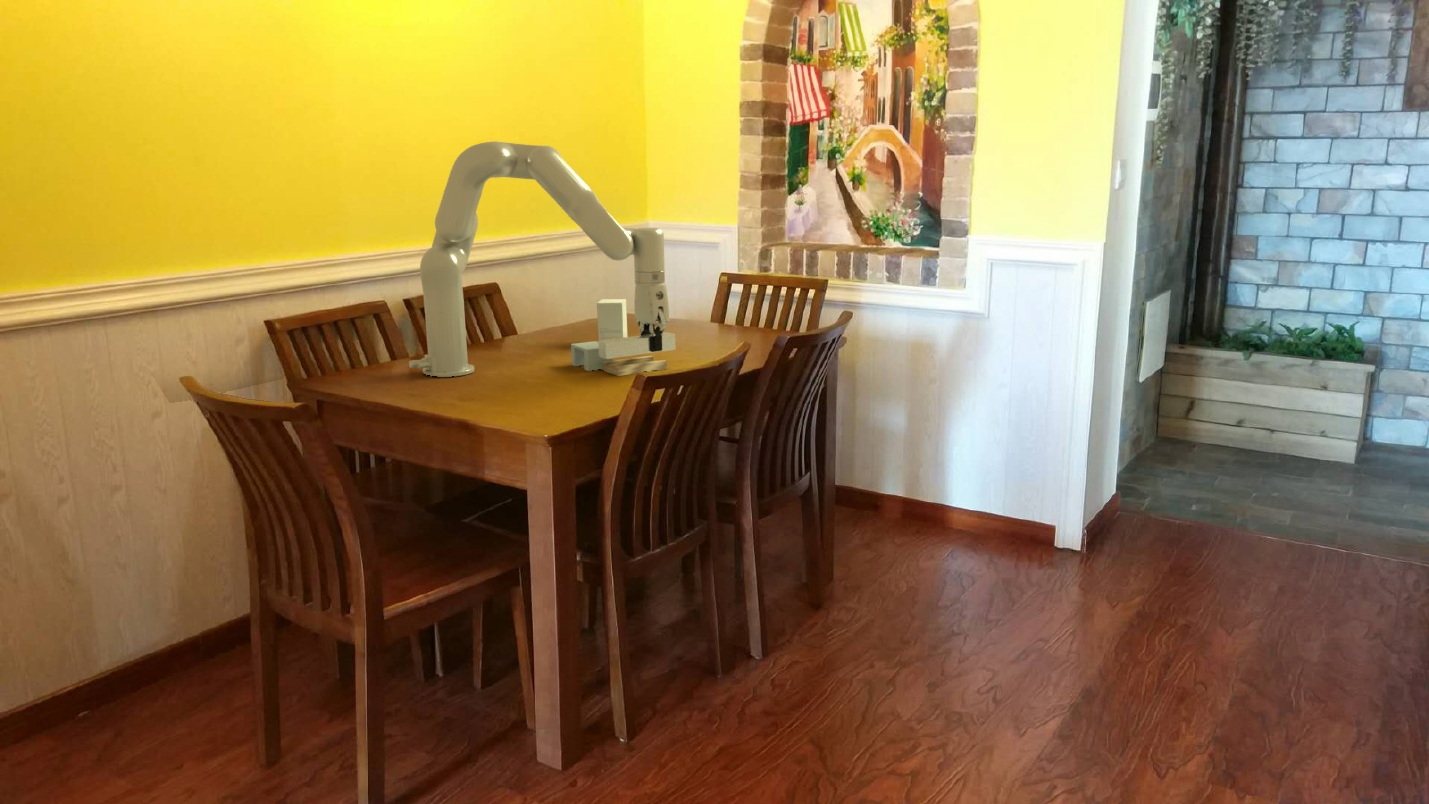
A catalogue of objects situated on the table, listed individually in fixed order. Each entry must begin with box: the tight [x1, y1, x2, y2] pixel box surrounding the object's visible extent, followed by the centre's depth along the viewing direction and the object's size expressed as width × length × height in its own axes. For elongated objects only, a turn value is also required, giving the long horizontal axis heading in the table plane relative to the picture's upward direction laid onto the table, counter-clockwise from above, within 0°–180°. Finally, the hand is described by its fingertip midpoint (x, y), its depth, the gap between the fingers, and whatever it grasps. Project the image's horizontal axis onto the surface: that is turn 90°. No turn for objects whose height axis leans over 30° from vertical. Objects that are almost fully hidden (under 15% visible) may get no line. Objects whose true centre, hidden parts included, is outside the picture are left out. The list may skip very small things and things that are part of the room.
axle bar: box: [597, 331, 677, 359], centre depth 262 cm, size 20×4×4 cm, turn 124°
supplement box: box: [596, 298, 628, 341], centre depth 295 cm, size 7×7×13 cm
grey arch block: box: [570, 341, 614, 372], centre depth 267 cm, size 7×9×6 cm
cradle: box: [602, 355, 668, 377], centre depth 263 cm, size 14×8×2 cm, turn 124°
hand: (651, 348), depth 264 cm, fingers closed on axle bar, 4 cm apart
